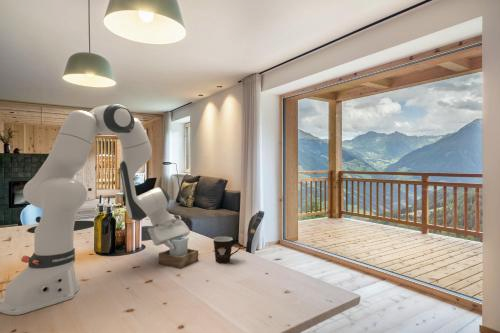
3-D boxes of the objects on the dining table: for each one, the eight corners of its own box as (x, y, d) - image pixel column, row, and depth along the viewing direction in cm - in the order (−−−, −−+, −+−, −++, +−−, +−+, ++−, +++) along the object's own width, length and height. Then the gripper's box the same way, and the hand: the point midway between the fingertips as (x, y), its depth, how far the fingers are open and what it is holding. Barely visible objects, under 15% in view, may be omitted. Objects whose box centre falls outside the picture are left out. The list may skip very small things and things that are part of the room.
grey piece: (178, 259, 132) (178, 241, 132) (169, 257, 134) (169, 239, 134) (187, 256, 137) (187, 238, 137) (178, 254, 140) (179, 236, 139)
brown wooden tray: (180, 268, 128) (180, 257, 128) (158, 263, 133) (158, 253, 133) (198, 260, 138) (198, 250, 138) (177, 256, 144) (177, 246, 144)
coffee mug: (209, 262, 136) (209, 239, 136) (220, 257, 144) (220, 235, 144) (231, 266, 131) (232, 243, 130) (241, 261, 138) (241, 238, 138)
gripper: (149, 222, 130) (166, 248, 125) (182, 215, 148) (198, 238, 143) (142, 231, 132) (158, 257, 127) (175, 223, 150) (190, 246, 145)
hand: (179, 247), depth 135 cm, fingers closed on grey piece, 6 cm apart
